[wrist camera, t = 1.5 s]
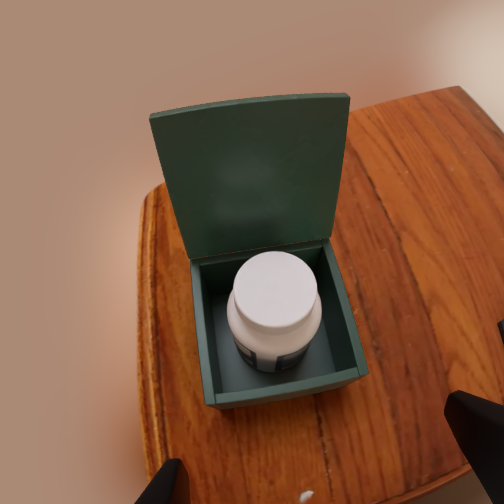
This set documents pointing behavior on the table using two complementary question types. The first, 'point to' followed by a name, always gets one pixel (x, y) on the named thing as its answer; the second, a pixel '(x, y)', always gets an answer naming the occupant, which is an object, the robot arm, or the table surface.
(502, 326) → the mat
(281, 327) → the pill bottle
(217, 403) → the green square box
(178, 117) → the lid
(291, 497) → the table surface
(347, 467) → the table surface
